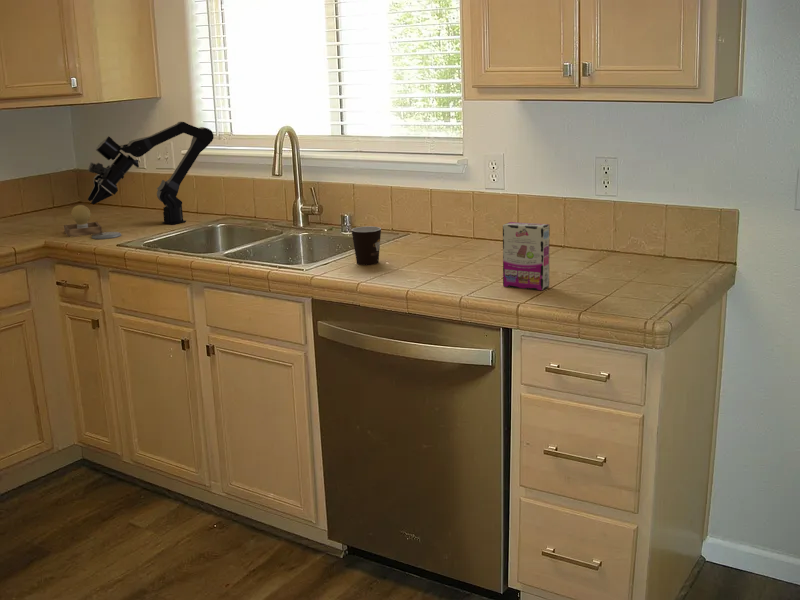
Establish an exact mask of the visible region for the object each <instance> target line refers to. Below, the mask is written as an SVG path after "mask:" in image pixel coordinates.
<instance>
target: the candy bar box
mask: <svg viewBox="0 0 800 600" xmlns="http://www.w3.org/2000/svg"><path fill="white" fill-rule="evenodd" d="M550 230H551V229H550V224H549V223H547V224H546V223H531V222H530V223H529V222H518V221H516V222H515V221H514V222H513V221H510V222H507V223H505V224H502V286H503V287H505V288H512V287H513V288H514V289H515V288H516V289H524V290H533V291H544V290H546V289H548V288H549V287H550V232H551V231H550ZM513 288H512V289H513Z"/></svg>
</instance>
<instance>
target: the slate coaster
mask: <svg viewBox="0 0 800 600" xmlns="http://www.w3.org/2000/svg"><path fill="white" fill-rule="evenodd" d="M120 237H122V233H121V232H118V231H105V232H103V231H102V233H97V234H93V235H91V239H93V240H109V239H110V240H111V239H115V238H120Z"/></svg>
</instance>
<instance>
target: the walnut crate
mask: <svg viewBox="0 0 800 600" xmlns="http://www.w3.org/2000/svg"><path fill="white" fill-rule="evenodd" d="M87 224H88V228H80V229H77V223H71V224H64V225H63V228H64V229H63V230H64V233H65V234H67V235H66V236H67V237H68V236H74V237H80V236H79V235H84V236H90V235H91V234H93V235H94V234H97V233H103V229H102V226H101V224H100V223H99V222H98V221H89V222H87ZM91 236H92V235H91Z"/></svg>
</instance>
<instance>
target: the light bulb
mask: <svg viewBox="0 0 800 600" xmlns="http://www.w3.org/2000/svg"><path fill="white" fill-rule="evenodd" d="M70 213H71V218H72V220H74V222H76V224H77V229H80V228H88V224H87V223H88V221H89V220H90V217H91V211H90V209H89V208H88V206H86V205H83V204H78V205H75V206H74V207H73V208H72V209H71V211H70Z"/></svg>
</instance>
